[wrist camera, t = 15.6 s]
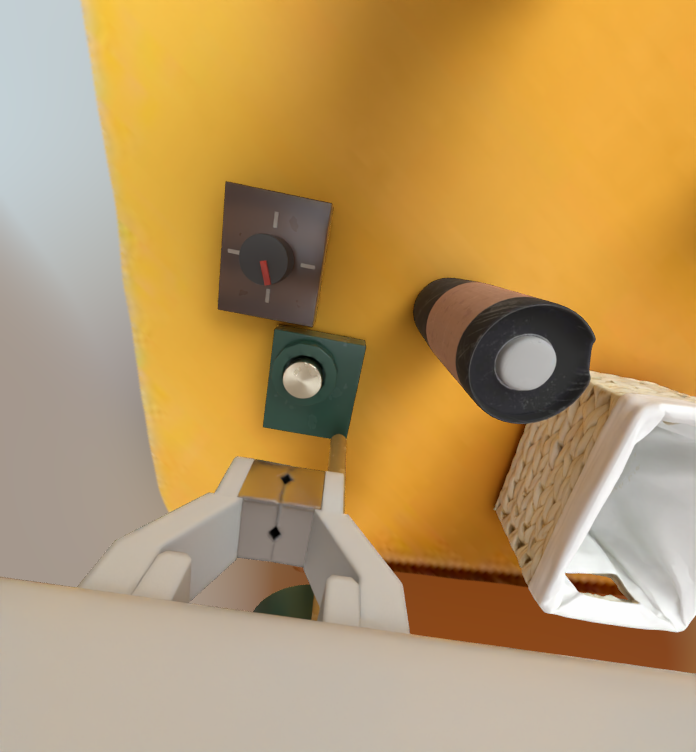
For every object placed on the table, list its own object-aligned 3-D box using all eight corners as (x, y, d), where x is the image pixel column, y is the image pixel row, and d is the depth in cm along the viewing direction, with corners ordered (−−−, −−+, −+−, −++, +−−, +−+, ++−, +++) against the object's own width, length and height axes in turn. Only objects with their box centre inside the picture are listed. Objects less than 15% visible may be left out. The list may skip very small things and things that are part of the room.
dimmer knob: (244, 238, 34) (232, 237, 30) (289, 231, 33) (282, 229, 30) (254, 284, 35) (244, 288, 32) (297, 278, 35) (291, 282, 31)
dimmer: (235, 186, 35) (224, 180, 32) (333, 207, 35) (332, 203, 32) (227, 305, 39) (216, 309, 36) (315, 321, 40) (312, 327, 37)
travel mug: (396, 316, 39) (438, 378, 20) (443, 259, 37) (538, 270, 18) (445, 356, 41) (527, 448, 22) (493, 304, 39) (628, 357, 20)
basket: (547, 348, 40) (650, 400, 26) (678, 374, 41) (843, 437, 27) (481, 512, 48) (533, 617, 35) (591, 530, 49) (685, 640, 35)
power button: (288, 354, 37) (285, 358, 35) (325, 360, 37) (324, 366, 35) (283, 388, 38) (280, 395, 36) (319, 395, 38) (318, 401, 36)
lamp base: (279, 323, 40) (270, 332, 35) (365, 340, 40) (367, 350, 36) (267, 417, 44) (258, 435, 39) (346, 430, 44) (345, 449, 40)
